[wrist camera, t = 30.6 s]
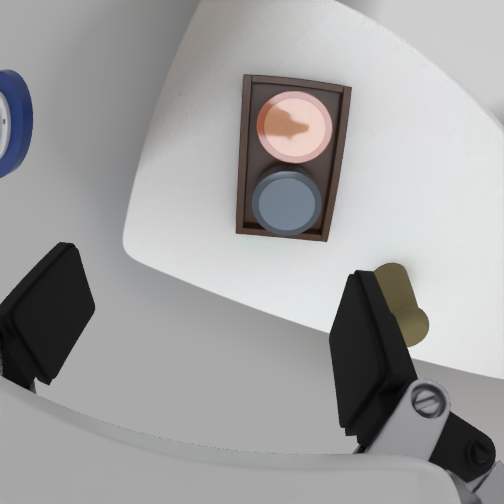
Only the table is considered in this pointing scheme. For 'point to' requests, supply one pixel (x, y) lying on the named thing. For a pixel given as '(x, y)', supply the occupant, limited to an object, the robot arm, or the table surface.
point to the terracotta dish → (294, 126)
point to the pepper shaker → (402, 302)
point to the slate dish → (286, 200)
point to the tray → (259, 160)
